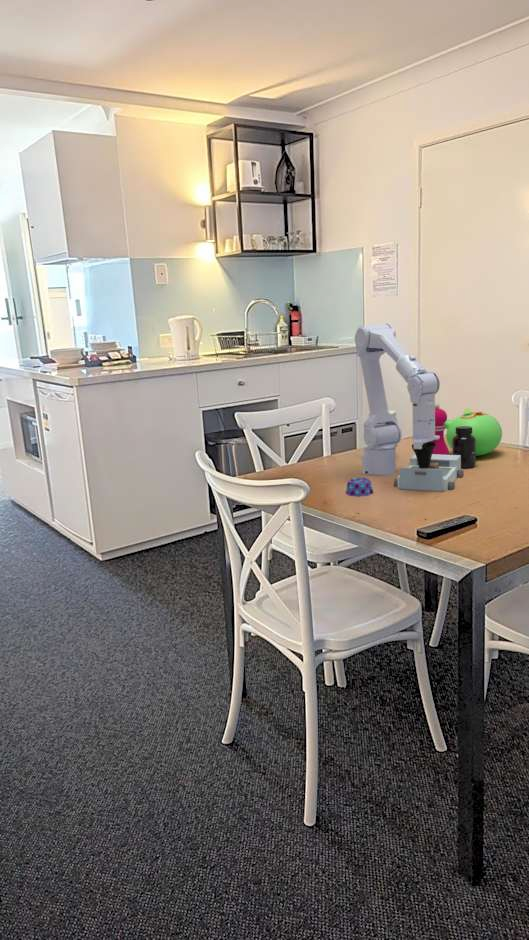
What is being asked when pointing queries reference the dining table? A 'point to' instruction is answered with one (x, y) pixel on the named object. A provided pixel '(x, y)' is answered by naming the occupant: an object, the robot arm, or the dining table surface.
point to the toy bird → (477, 430)
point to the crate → (434, 465)
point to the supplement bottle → (464, 446)
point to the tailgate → (421, 479)
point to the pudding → (359, 487)
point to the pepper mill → (440, 431)
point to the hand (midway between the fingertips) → (424, 469)
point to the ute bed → (446, 462)
